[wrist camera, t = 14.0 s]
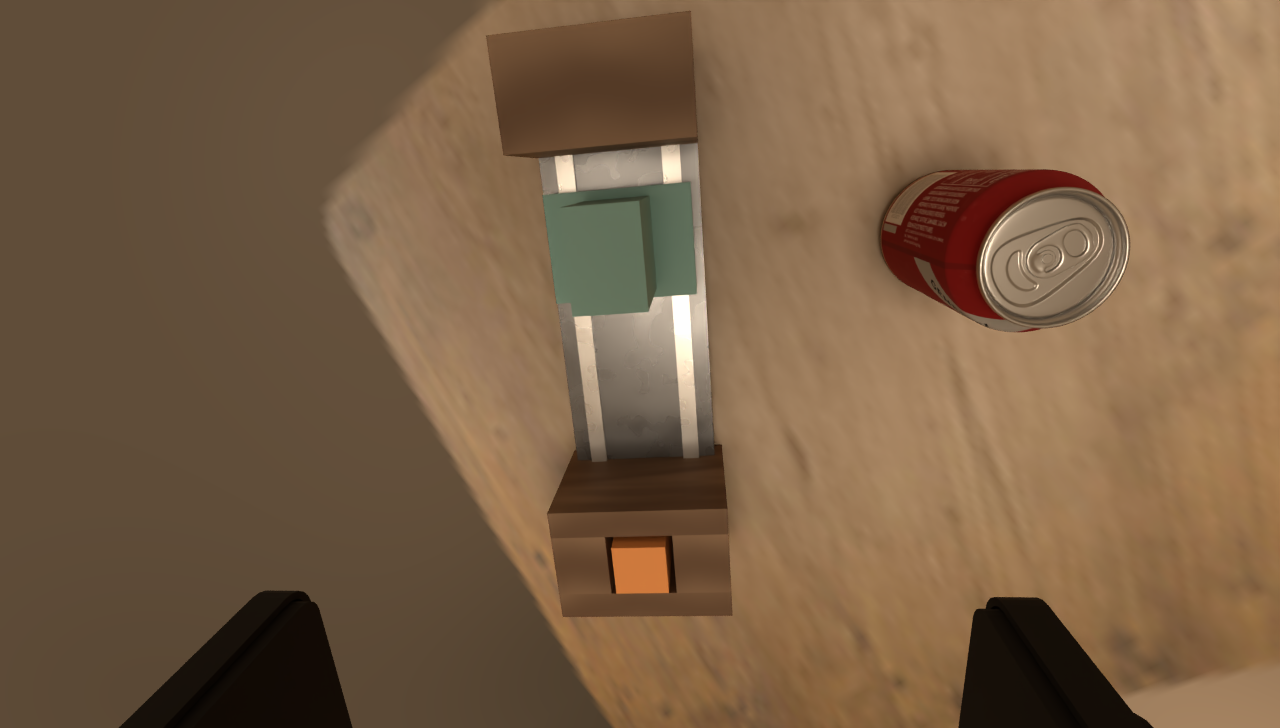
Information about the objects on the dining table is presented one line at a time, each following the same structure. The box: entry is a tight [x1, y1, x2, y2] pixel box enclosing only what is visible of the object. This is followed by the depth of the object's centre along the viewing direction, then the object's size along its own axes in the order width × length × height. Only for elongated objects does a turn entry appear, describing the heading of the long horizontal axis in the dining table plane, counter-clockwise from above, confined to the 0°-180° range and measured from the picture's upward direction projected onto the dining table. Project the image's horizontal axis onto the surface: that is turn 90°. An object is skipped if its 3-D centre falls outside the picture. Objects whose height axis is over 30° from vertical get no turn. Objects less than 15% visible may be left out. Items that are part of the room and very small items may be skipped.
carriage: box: [542, 182, 697, 317], centre depth 31 cm, size 6×8×8 cm
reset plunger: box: [611, 536, 673, 594], centre depth 37 cm, size 3×3×8 cm
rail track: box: [539, 143, 715, 462], centre depth 37 cm, size 21×9×2 cm, turn 5°
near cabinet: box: [486, 11, 698, 158], centre depth 30 cm, size 5×9×8 cm, turn 95°
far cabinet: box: [547, 445, 732, 617], centre depth 38 cm, size 7×10×8 cm
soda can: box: [881, 170, 1130, 332], centre depth 29 cm, size 7×7×12 cm
